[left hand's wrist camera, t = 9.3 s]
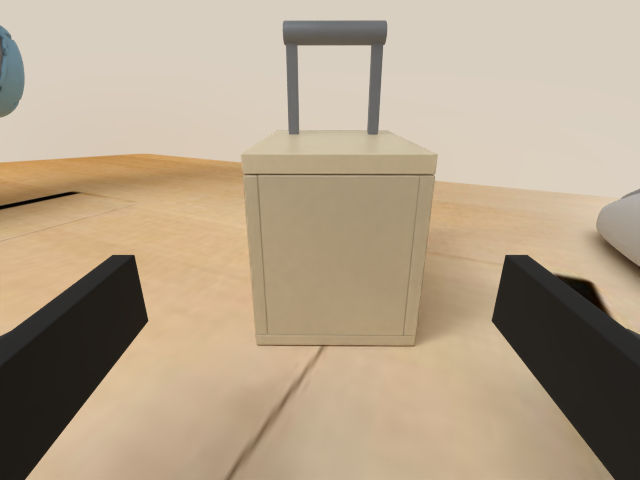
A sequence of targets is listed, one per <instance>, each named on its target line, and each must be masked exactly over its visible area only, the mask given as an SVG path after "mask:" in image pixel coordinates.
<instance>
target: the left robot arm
mask: <svg viewBox="0 0 640 480" xmlns="http://www.w3.org/2000/svg"><path fill="white" fill-rule="evenodd" d="M147 322H148V317H147V313H146V308H145V303H144V298H143V294H142V289H141V284H140V279H139V275H138V270H137V265H136V261H135V256H134V255H112V256H111V257H109V258H108V259H107V260H105V261H104V262H103V263H101V264H100V265H99V266H97V267H96V268H95V269H93V270H92V271H91V272H89V273H88V274H87V275H85V276H84V277H83V278H81V279H80V280H79V281H77V282H76V283H75V284H73V285H72V286H71V287H69V288H68V289H67V290H65V291H64V292H63V293H61V294H60V295H59V296H57V297H56V298H55V299H53V300H52V301H51V302H49V303H48V304H47V305H45V306H44V307H43V308H41V309H40V310H39V311H37V312H36V313H35V314H33V315H32V316H31V317H29V318H28V319H26V320H25V321H24V322H22V323H21V324H20V325H18V326H17V327H16V328H14V329H13V330H12V331H10V332H8V333H6V334H4V335H2V336H0V480H25V479H26V478H27V476H28V475H29V474H30V473H31V471H32V470H33V469H34V467H35V466H36V465H37V464H38V462H39V461H40V460H41V458H42V457H43V456H44V455H45V453H46V452H47V451H48V449H49V448H50V447H51V446H52V444H53V443H54V442H55V440H56V439H57V438H58V437H59V435H60V434H61V433H62V431H63V430H64V429H65V428H66V426H67V425H68V424H69V422H70V421H71V420H72V419H73V417H74V416H75V415H76V413H77V412H78V411H79V410H80V408H81V407H82V406H83V404H84V403H85V402H86V401H87V399H88V398H89V397H90V395H91V394H92V393H93V392H94V390H95V389H96V388H97V386H98V385H99V384H100V382H101V381H102V380H103V379H104V377H105V376H106V375H107V373H108V372H109V371H110V370H111V368H112V367H113V366H114V364H115V363H116V362H117V361H118V359H119V358H120V357H121V355H122V354H123V353H124V352H125V350H126V349H127V348H128V346H129V345H130V344H131V343H132V341H133V340H134V339H135V337H136V336H137V335H138V334H139V332H140V331H141V330H142V328H143V327H144V326H145V325H146V323H147ZM492 322H493V323H494V325H495V326H496V327H497V328H498V330H499V331H500V332H501V334H502V335H503V336H504V337H505V339H506V340H507V341H508V343H509V344H510V345H511V346H512V348H513V349H514V350H515V352H516V353H517V354H518V355H519V357H520V358H521V359H522V361H523V362H524V363H525V364H526V366H527V367H528V368H529V370H530V371H531V372H532V373H533V375H534V376H535V377H536V379H537V380H538V381H539V382H540V384H541V385H542V386H543V388H544V389H545V390H546V392H547V393H548V394H549V395H550V397H551V398H552V399H553V401H554V402H555V403H556V404H557V406H558V407H559V408H560V410H561V411H562V412H563V413H564V415H565V416H566V417H567V419H568V420H569V421H570V422H571V424H572V425H573V426H574V428H575V429H576V430H577V431H578V433H579V434H580V435H581V437H582V438H583V439H584V440H585V442H586V443H587V444H588V446H589V447H590V448H591V449H592V451H593V452H594V453H595V455H596V456H597V457H598V458H599V460H600V461H601V462H602V464H603V465H604V466H605V467H606V469H607V470H608V471H609V473H610V474H611V475H612V476H613V478H614V479H615V480H640V335H639V334H637V333H635V332H633V331H631V330H629V329H626V328H624V327H623V326H622V325H620V324H619V323H618V322H616V321H615V320H614V319H612V318H611V317H609V316H608V315H607V314H605V313H604V312H603V311H601V310H600V309H599V308H597V307H596V306H595V305H593V304H592V303H591V302H589V301H588V300H587V299H585V298H584V297H583V296H581V295H580V294H579V293H577V292H576V291H575V290H573V289H572V288H571V287H569V286H568V285H567V284H565V283H564V282H563V281H561V280H560V279H559V278H557V277H556V276H555V275H553V274H552V273H551V272H549V271H548V270H547V269H545V268H544V267H543V266H541V265H540V264H539V263H537V262H536V261H535V260H533V259H532V258H531V257H529V256H528V255H506V256H505V261H504V265H503V270H502V275H501V279H500V284H499V289H498V294H497V298H496V303H495V308H494V313H493V317H492Z"/></svg>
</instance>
